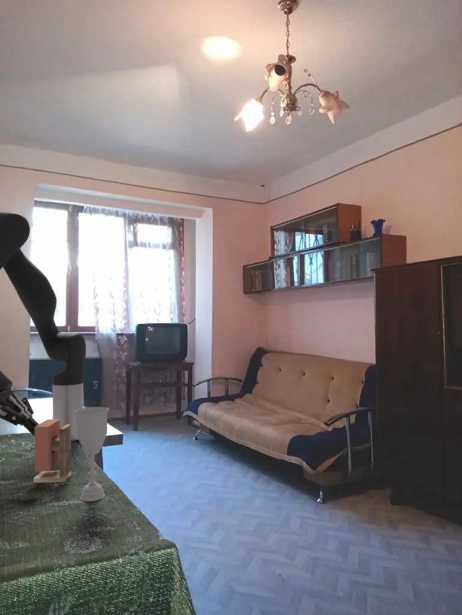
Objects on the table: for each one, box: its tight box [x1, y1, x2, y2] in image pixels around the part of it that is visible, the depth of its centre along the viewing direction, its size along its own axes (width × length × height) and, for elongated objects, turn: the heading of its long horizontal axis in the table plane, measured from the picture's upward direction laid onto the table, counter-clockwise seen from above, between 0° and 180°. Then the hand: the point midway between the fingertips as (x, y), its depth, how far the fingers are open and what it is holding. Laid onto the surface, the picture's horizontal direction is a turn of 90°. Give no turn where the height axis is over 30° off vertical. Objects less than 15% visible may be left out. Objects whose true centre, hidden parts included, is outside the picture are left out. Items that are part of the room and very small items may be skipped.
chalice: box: [74, 406, 110, 502], centre depth 97 cm, size 7×7×18 cm
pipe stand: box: [32, 424, 72, 484], centre depth 108 cm, size 5×7×12 cm
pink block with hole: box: [34, 418, 60, 473], centre depth 108 cm, size 8×3×10 cm, turn 2°
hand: (38, 432), depth 108 cm, fingers closed
